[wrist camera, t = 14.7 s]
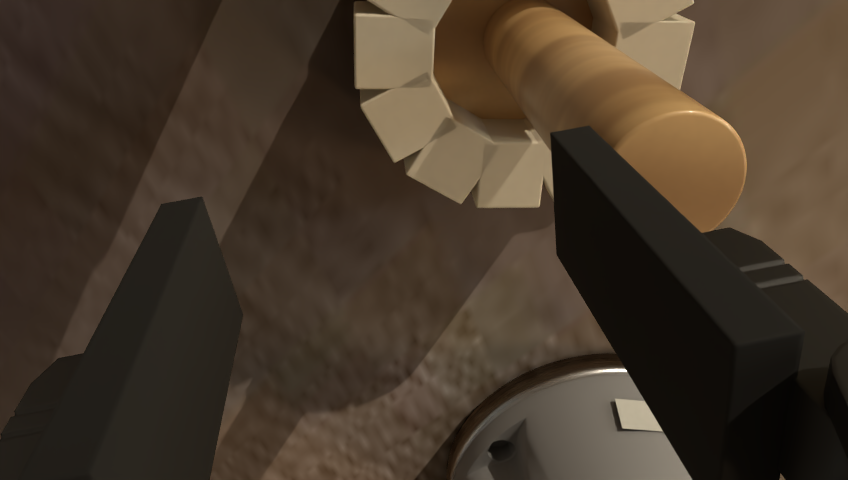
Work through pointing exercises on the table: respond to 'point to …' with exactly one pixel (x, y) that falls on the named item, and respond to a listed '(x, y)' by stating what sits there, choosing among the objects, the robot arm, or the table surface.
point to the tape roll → (465, 132)
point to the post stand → (588, 97)
